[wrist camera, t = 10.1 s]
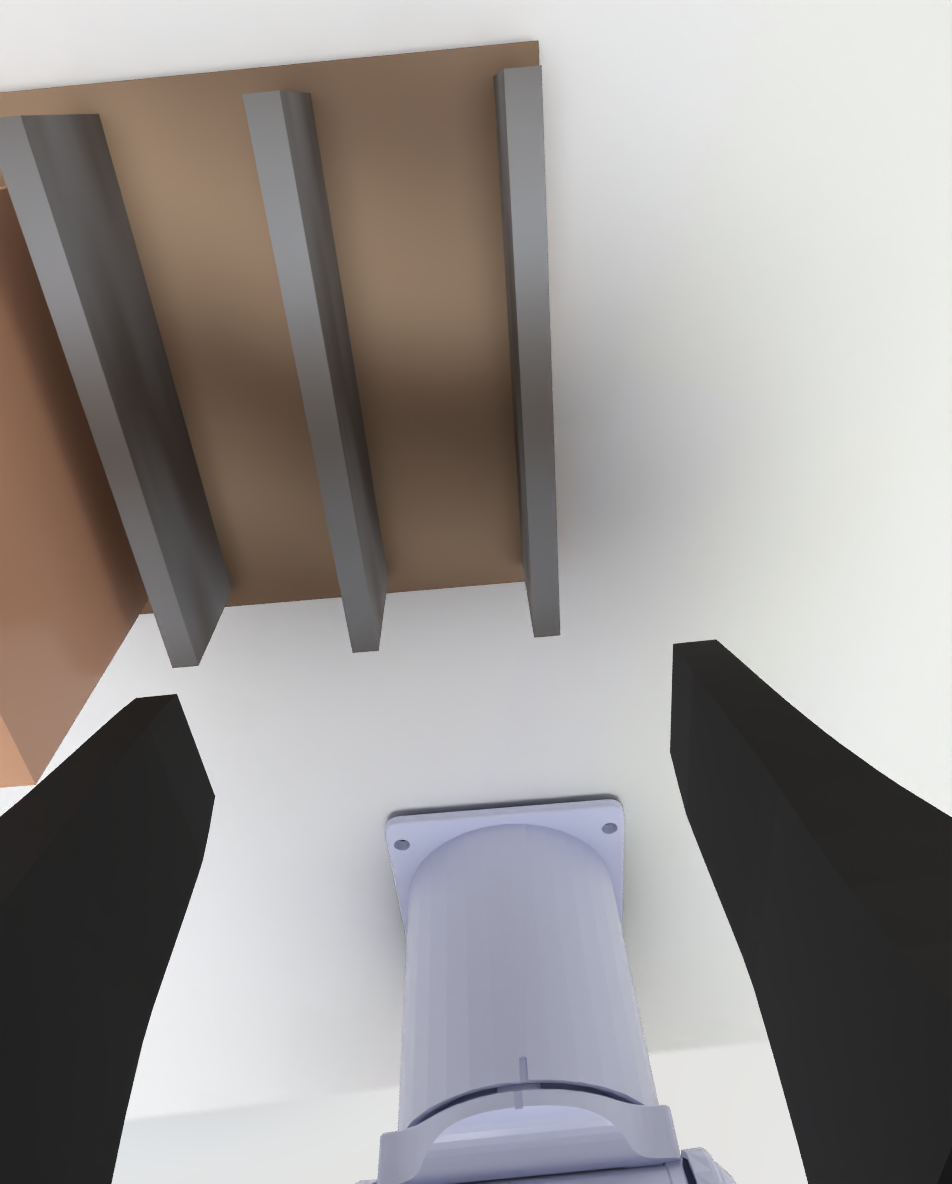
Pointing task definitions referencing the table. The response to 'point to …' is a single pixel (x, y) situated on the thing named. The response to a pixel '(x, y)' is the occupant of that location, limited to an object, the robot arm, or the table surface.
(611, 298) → the table surface
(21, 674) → the peach rectangular slab
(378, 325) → the dish rack
